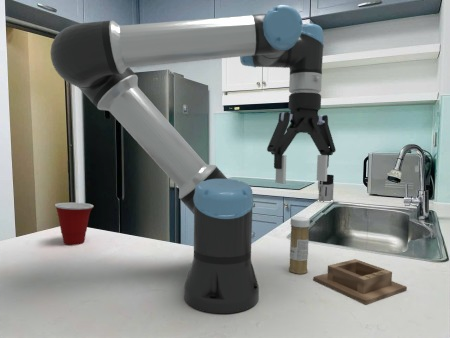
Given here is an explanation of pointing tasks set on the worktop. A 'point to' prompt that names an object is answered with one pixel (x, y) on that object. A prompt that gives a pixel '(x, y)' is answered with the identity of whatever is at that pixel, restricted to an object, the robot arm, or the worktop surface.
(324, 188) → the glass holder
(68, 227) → the plastic cup
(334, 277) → the walnut socket block
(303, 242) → the sprinkles bottle
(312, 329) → the worktop surface
